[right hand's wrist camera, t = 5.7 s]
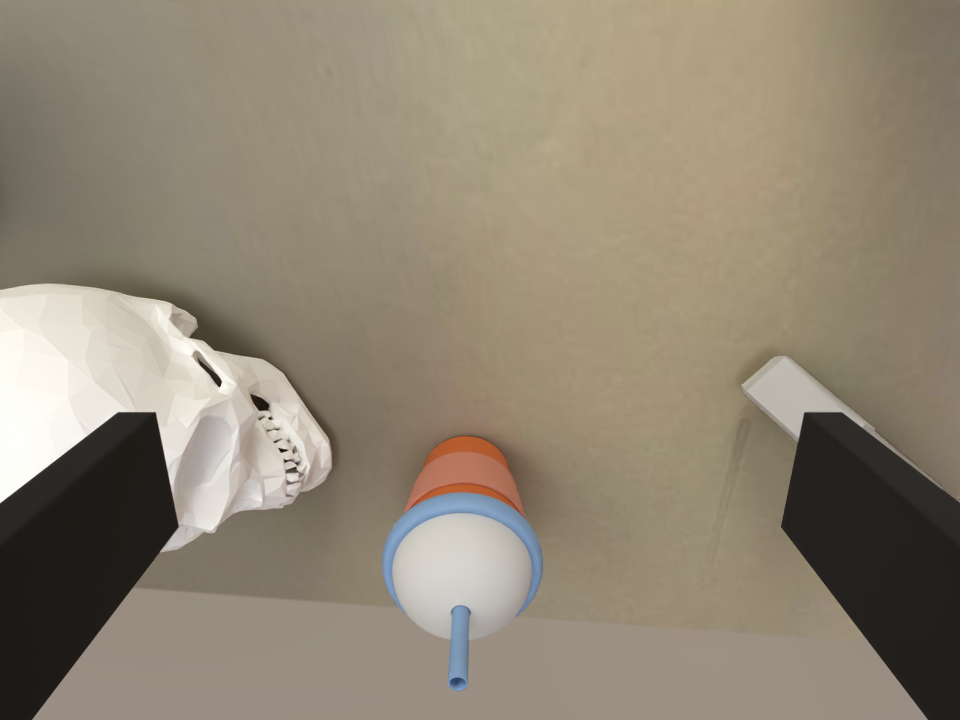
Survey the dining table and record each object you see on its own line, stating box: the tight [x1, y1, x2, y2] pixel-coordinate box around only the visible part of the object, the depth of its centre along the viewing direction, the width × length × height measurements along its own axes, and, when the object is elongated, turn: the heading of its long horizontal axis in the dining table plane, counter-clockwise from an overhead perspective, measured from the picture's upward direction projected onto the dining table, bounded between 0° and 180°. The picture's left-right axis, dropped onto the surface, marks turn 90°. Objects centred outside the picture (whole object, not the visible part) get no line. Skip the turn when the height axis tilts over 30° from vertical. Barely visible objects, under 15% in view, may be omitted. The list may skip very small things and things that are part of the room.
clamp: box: [741, 356, 943, 490], centre depth 41 cm, size 20×4×7 cm, turn 52°
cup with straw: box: [382, 436, 543, 691], centre depth 36 cm, size 9×9×18 cm
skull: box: [0, 284, 332, 552], centre depth 35 cm, size 13×22×16 cm, turn 63°
